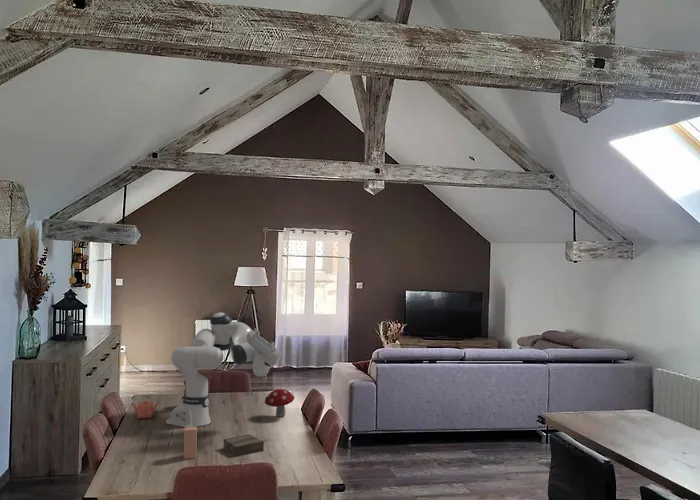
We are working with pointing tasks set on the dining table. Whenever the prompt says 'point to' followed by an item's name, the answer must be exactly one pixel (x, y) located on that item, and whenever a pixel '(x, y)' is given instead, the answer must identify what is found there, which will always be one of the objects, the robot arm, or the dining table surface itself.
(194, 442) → the terracotta block
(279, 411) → the decorative mushroom
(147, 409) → the teapot
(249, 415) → the dining table surface
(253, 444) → the walnut plinth
